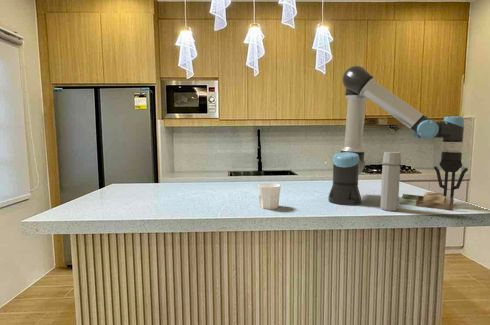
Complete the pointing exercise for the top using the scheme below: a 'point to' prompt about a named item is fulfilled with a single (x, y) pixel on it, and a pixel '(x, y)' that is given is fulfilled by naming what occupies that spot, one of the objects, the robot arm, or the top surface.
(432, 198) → the crate
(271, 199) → the cup
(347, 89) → the robot arm
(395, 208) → the water bottle
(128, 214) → the top surface
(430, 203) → the bay
